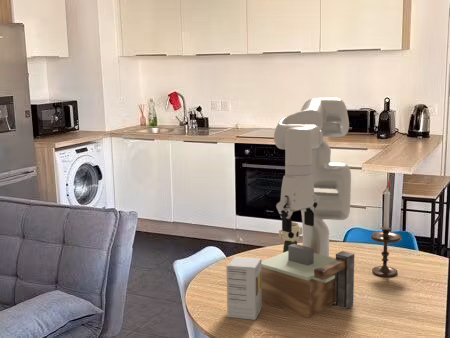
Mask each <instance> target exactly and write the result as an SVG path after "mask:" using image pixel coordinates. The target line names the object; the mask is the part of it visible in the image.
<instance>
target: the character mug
mask: <svg viewBox="0 0 450 338" xmlns="http://www.w3.org/2000/svg"><path fill="white" fill-rule="evenodd" d="M300 235H303V226H300V223H299V222H296V221H292V232H290V233H289V232H285V231H282V229H279V230H278V237H279V238H282V240H284V243H283V250H282V253H284V252H286V251H288V246H289V245H292V244H297V245H298V240H299V239H300Z"/></svg>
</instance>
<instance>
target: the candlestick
mask: <svg viewBox="0 0 450 338" xmlns="http://www.w3.org/2000/svg"><path fill="white" fill-rule="evenodd" d="M390 183H391V180H390V179H389V181H388V182H387V185H386V189H385V192H384V194H383V195H384V196H383V198H384V199H383V200H384V201H383V226H382V227H380V228H379V229H380V231H379V230H378V231H373V232H371V233H370V239H371V240H373V241H375V242H379V243H383V251H381V256H382V258H381V261H382V266H381V265H379V266H375V267H373V268H372V270H371V273H372V274H373V275H374V276H377V277H381V278H392V277H393V278H394V277H396V276H397V275H398V270H397V269H396V268H394V267H390V266H388V265H387V264H388V261H389V258H388V257H389V255H390V252H389V251H388V244H389V243H391V244H392V243H398V242H400V241H402V235H401V234H399V233H398V232H394V231H391V230H392V228H391V227H390V202H391V201H390V200H391V192H390V191H389V187H390Z"/></svg>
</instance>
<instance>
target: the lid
mask: <svg viewBox="0 0 450 338" xmlns="http://www.w3.org/2000/svg"><path fill="white" fill-rule="evenodd" d="M335 260H336V257H330V256H329V257H328V256H324V255H320V254H316V253H314V248H310V247H306V246H303V244H302V245H300V244H298V243H297V244H292V245H289V246H288V251H286V252H284V253H283V252H281V253H279V254H277V255H274V256H271V257H269V258H267V259H264V260H261V267H264V268H267V269H270V270H274V271H277V272H281V273H284V274H287V275H291V276H294V277H297V278H301V279H304V280H310V279H314V280H318V281H321V282H325V283H326V282H328V281H330V280H332V279H334V278H335V275H331V276H329V277H327V278H326V279H324V280H322V279H318V278H315V277H314V269H316V268H320V267H322V266H324V265H327V264H329V263H331V262H333V261H335Z"/></svg>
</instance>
